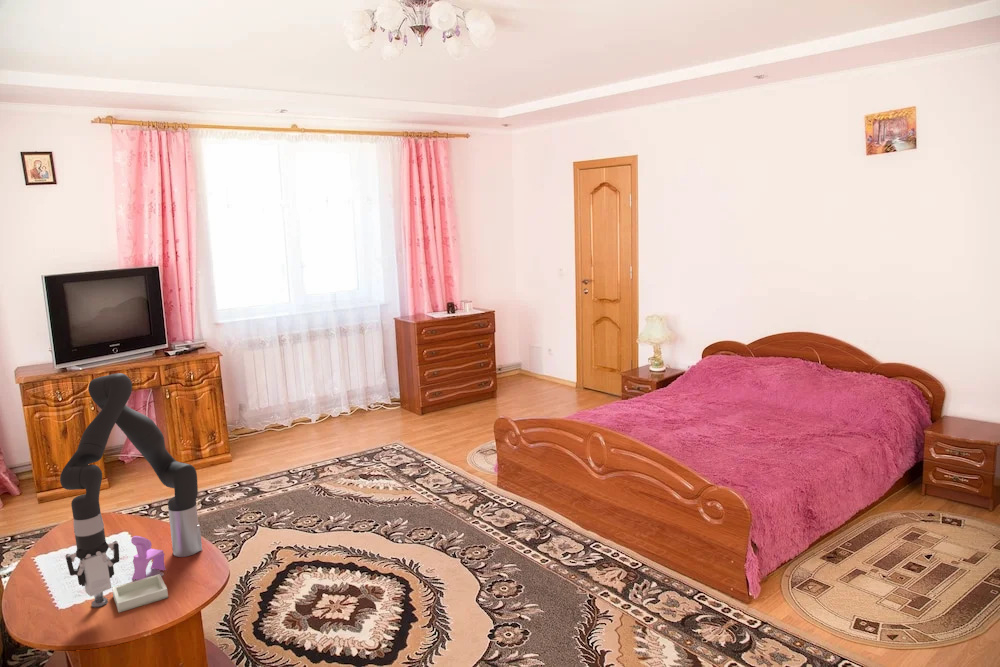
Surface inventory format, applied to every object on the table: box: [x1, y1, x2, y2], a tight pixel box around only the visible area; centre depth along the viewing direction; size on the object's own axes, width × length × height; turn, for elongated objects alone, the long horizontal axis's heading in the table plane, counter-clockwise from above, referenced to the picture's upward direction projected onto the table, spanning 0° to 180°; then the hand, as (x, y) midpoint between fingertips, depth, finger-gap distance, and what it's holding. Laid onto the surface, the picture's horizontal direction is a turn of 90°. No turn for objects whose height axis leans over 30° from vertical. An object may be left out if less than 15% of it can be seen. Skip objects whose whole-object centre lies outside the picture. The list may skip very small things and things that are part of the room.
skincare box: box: [79, 552, 112, 597], centre depth 210 cm, size 6×4×12 cm
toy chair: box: [130, 535, 167, 581], centre depth 236 cm, size 8×9×15 cm
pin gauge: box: [90, 591, 109, 609], centre depth 218 cm, size 4×4×9 cm
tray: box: [111, 573, 169, 613], centre depth 222 cm, size 14×12×3 cm
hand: (96, 580), depth 210 cm, fingers closed on skincare box, 6 cm apart
